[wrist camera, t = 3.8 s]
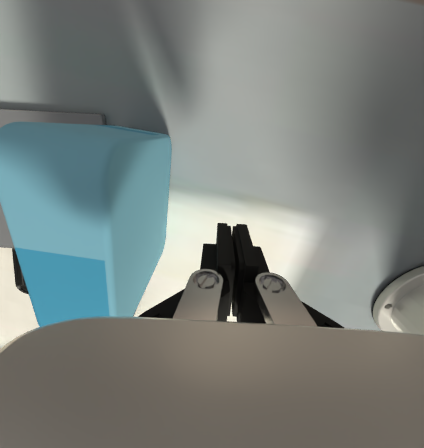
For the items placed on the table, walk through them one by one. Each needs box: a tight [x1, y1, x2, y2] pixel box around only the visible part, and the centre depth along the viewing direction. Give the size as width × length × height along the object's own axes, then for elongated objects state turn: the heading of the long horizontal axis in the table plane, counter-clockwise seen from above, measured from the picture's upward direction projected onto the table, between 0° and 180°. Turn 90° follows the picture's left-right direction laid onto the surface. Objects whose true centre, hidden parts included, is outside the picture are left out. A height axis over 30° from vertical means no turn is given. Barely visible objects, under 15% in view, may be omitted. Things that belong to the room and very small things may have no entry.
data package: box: [0, 122, 172, 327], centre depth 15 cm, size 12×4×12 cm, turn 171°
